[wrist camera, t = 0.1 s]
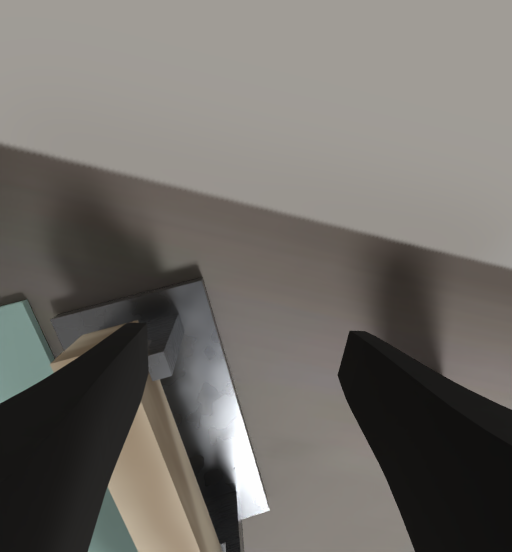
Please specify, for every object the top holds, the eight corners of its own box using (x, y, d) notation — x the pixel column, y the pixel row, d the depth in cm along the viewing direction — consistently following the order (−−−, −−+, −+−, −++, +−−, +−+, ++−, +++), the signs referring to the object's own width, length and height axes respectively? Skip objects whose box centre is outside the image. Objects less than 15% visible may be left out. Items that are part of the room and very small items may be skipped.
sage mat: (39, 587, 24) (35, 595, 23) (-118, 336, 18) (-127, 339, 17) (144, 552, 24) (143, 559, 24) (26, 299, 18) (21, 301, 18)
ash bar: (188, 584, 20) (183, 648, 17) (82, 335, 15) (49, 364, 12) (229, 570, 20) (231, 631, 17) (137, 320, 15) (118, 345, 12)
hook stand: (156, 535, 24) (134, 649, 18) (58, 314, 19) (-21, 364, 13) (267, 498, 25) (284, 595, 18) (202, 277, 20) (195, 306, 13)
